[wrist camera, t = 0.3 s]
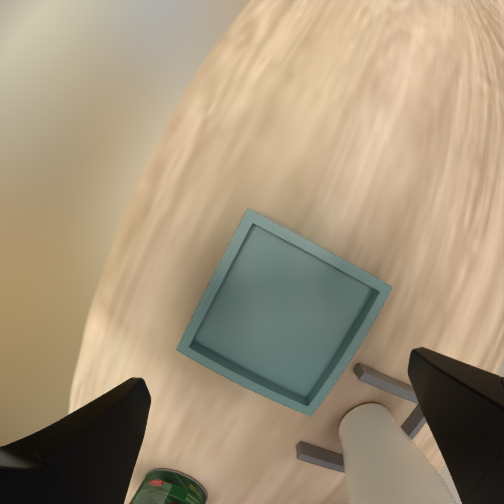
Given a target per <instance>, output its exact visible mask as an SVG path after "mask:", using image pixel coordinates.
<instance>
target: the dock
mask: <svg viewBox="0 0 504 504" xmlns="http://www.w3.org/2000/svg"><path fill="white" fill-rule="evenodd" d="M354 372H355V374H356V375H357V377H358V379H359V380H360V381H363V382H365V383H367V384H370V385H372V386H374V387H377V388H379V389H382V390H384V391H386V392H389V393H391V394H394V395H396V396H399V397H401V398H404V399H406V400H409V401H412V402H414V403H417V404H418V406H417V407H416V409H415V410H414V411H413V413H412V414H411V415H410V417H409V418H408V419H407V420H406V422H405V423H404V424H403V426H402V427H401V428H402V429H403V430H404V432H405V433H406V434H407V435H408V436H409V438H410V439H411V440H412V439H413V438H414V437H415V436H416V435H417V433H418V432H419V431H420V430H421V428H422V427H423V426H424V424H425V423H426V422H427V421H426V419H425V417H424V415H423V413H422V411H421V408H420V406H419V403H418V400H417V398H416V395H415V392H414V389H413V387H412V386H409V385H407V384H405V383H402V382H400V381H398V380H395V379H393V378H391V377H389V376H386V375H384V374H382V373H380V372H377V371H375V370H373V369H371V368H368V367H366V366H364V365H362V364H360V363H358V365H357V366H356V368H355V369H354ZM296 451H297V459H299V460H302V461H305V462H308V463H312V464H315V465H318V466H321V467H325V468H328V469H332V470H336V471H339V472H343V473H345V469H344V461H343V455H340V454H337V453H334V452H330V451H327V450H324V449H321V448H318V447H315V446H312V445H309V444H307V443H304V442H301V441H300V443H299V444H298V445H297V446H296Z"/></svg>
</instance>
